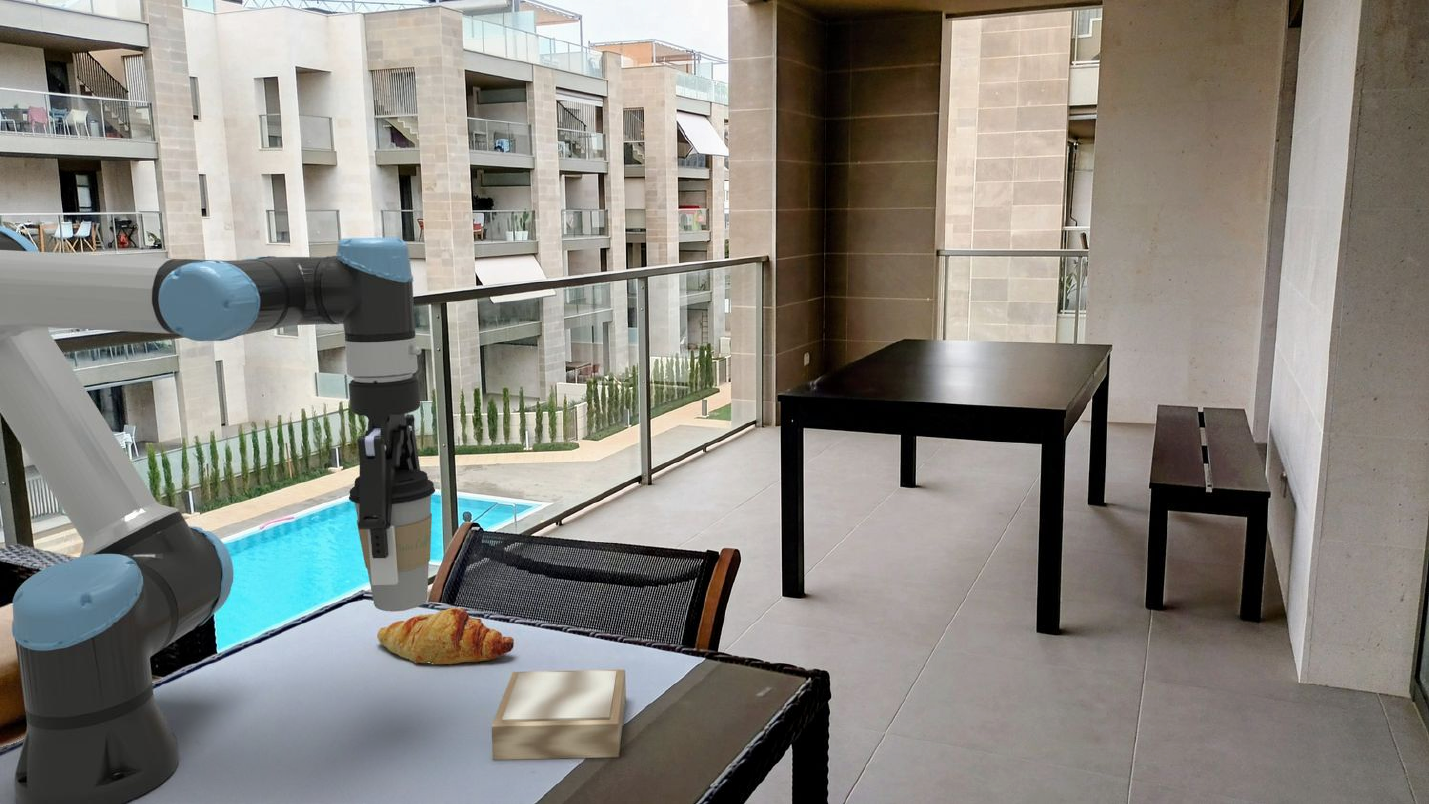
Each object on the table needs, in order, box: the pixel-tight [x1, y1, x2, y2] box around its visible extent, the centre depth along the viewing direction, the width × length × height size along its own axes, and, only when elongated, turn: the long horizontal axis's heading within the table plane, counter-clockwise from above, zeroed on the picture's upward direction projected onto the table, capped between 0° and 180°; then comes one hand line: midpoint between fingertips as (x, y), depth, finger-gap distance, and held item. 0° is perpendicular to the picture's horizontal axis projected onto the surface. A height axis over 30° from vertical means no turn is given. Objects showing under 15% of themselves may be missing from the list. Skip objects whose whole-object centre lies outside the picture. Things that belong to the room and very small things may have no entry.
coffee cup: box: [348, 469, 436, 612], centre depth 116 cm, size 9×9×15 cm
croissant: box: [376, 607, 515, 665], centre depth 141 cm, size 21×10×8 cm, turn 76°
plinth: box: [491, 669, 627, 761], centre depth 119 cm, size 14×14×4 cm
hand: (397, 568), depth 117 cm, fingers closed on coffee cup, 9 cm apart
